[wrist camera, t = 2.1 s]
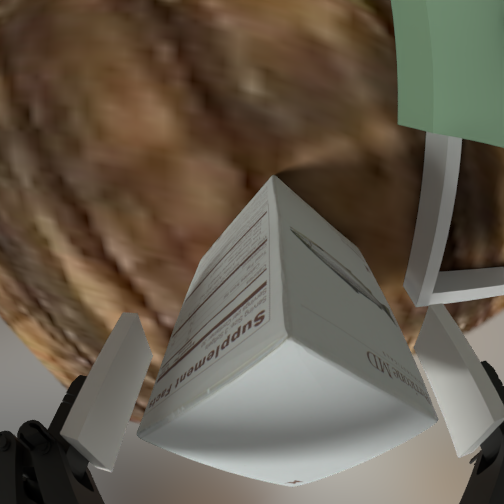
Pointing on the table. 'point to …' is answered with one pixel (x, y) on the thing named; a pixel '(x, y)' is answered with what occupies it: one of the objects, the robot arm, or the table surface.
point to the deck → (448, 125)
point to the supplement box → (285, 354)
